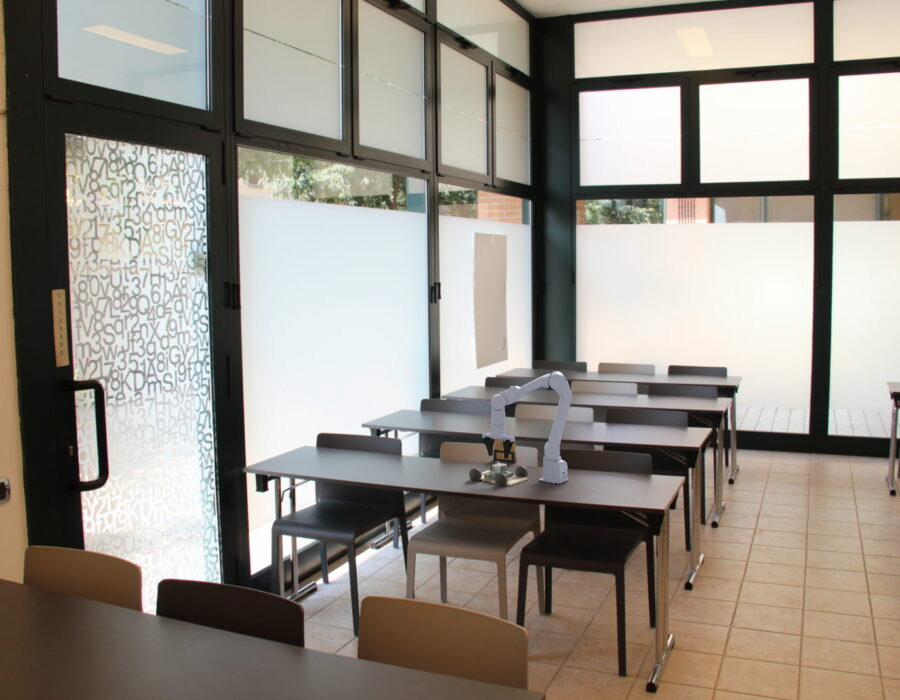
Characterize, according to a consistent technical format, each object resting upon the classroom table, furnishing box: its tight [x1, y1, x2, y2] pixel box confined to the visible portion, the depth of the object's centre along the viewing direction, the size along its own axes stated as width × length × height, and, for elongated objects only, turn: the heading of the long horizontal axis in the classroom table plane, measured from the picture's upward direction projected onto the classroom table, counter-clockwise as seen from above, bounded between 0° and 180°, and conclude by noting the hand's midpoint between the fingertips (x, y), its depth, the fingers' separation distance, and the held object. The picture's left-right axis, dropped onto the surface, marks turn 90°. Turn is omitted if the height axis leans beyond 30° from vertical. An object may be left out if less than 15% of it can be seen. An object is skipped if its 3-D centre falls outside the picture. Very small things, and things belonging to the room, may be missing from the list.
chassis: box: [468, 461, 529, 487], centre depth 347 cm, size 20×16×5 cm
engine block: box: [492, 462, 508, 475], centre depth 347 cm, size 4×5×5 cm
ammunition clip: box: [492, 439, 518, 464], centre depth 377 cm, size 11×2×12 cm, turn 61°
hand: (498, 456), depth 346 cm, fingers open, 7 cm apart
